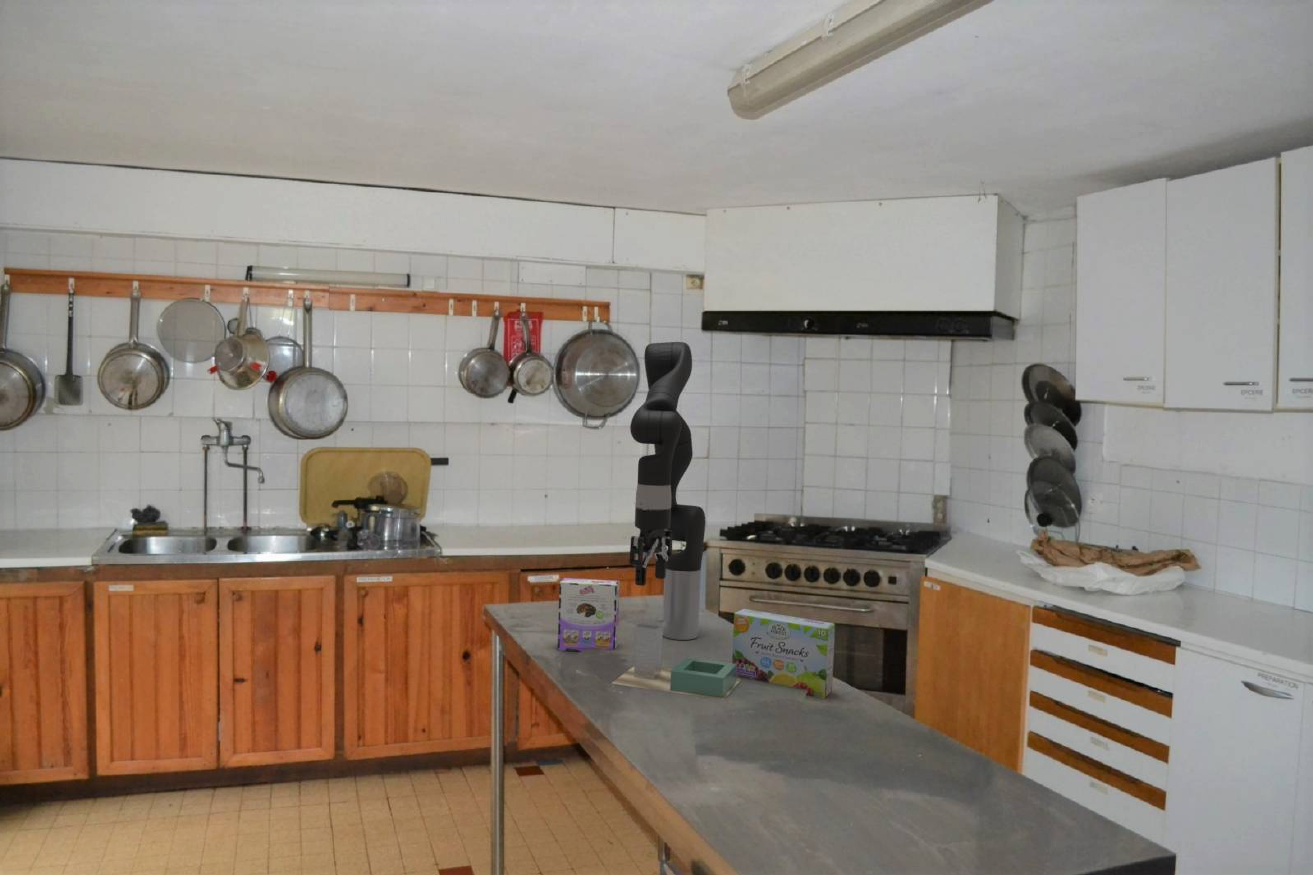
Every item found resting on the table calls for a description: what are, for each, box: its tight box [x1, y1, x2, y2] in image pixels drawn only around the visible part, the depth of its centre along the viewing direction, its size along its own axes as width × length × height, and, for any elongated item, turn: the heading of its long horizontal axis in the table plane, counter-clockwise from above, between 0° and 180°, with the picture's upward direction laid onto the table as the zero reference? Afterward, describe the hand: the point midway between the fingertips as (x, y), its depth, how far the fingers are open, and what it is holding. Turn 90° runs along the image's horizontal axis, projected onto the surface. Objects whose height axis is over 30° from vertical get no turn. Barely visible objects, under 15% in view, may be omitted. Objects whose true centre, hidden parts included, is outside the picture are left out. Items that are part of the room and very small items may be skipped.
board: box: [611, 665, 743, 701], centre depth 202 cm, size 15×24×1 cm, turn 71°
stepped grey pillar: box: [633, 616, 666, 680], centre depth 205 cm, size 4×6×12 cm
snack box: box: [731, 608, 836, 700], centre depth 205 cm, size 21×6×15 cm, turn 62°
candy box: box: [557, 577, 620, 653], centre depth 228 cm, size 14×6×16 cm, turn 84°
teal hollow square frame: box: [670, 656, 737, 698], centre depth 199 cm, size 11×11×4 cm
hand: (650, 581), depth 203 cm, fingers open, 8 cm apart
